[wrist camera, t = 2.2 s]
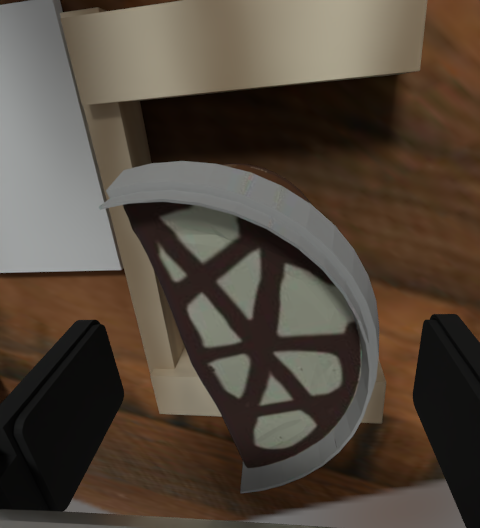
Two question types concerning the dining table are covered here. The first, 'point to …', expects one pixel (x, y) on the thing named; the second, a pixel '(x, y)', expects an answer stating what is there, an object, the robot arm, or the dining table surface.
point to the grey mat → (47, 153)
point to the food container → (260, 308)
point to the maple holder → (206, 82)
